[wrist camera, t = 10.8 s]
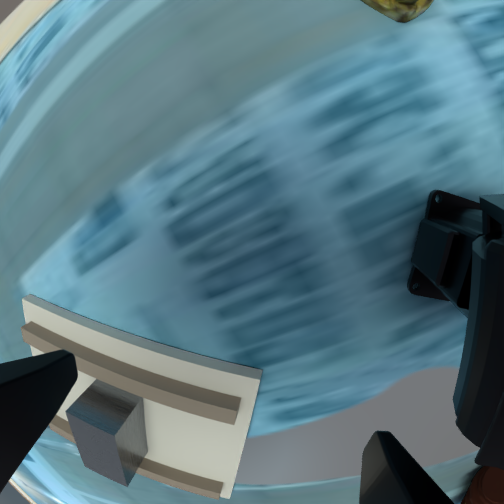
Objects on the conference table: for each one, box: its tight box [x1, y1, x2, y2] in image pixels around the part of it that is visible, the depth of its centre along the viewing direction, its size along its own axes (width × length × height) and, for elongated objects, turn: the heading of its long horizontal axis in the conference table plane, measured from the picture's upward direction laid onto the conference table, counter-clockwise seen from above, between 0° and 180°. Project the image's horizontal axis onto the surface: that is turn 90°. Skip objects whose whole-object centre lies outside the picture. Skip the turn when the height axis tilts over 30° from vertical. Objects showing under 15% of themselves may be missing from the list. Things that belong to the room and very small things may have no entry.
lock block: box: [65, 379, 148, 487], centre depth 21 cm, size 4×8×5 cm, turn 171°
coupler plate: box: [21, 294, 262, 500], centre depth 23 cm, size 22×18×3 cm
